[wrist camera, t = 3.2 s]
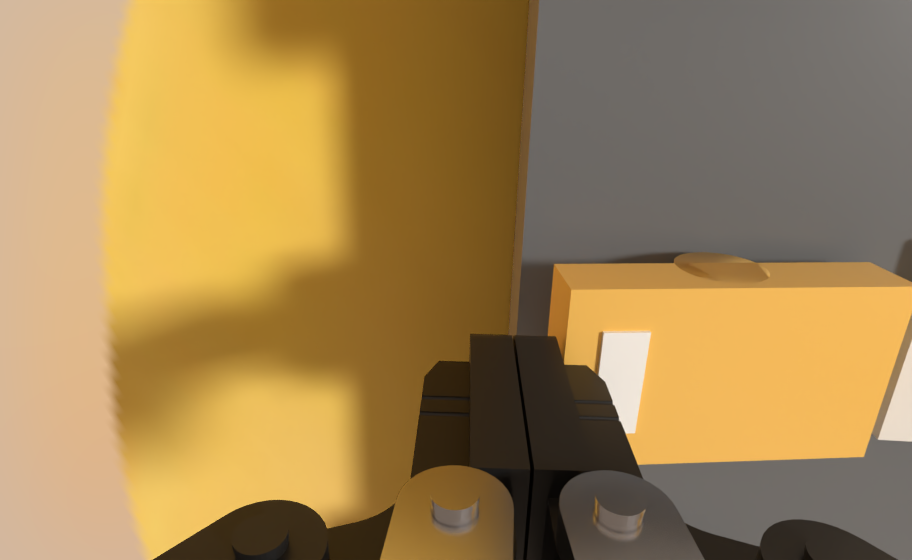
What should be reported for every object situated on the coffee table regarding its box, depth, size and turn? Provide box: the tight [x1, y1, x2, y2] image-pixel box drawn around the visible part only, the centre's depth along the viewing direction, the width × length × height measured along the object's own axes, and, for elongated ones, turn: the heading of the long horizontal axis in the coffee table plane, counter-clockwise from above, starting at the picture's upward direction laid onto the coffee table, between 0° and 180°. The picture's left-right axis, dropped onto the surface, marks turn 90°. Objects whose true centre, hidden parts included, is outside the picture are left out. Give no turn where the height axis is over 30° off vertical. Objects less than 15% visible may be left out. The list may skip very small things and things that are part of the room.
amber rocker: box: [548, 252, 912, 465], centre depth 11 cm, size 6×4×2 cm, turn 89°
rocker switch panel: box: [508, 0, 912, 560], centre depth 14 cm, size 12×28×4 cm, turn 179°
